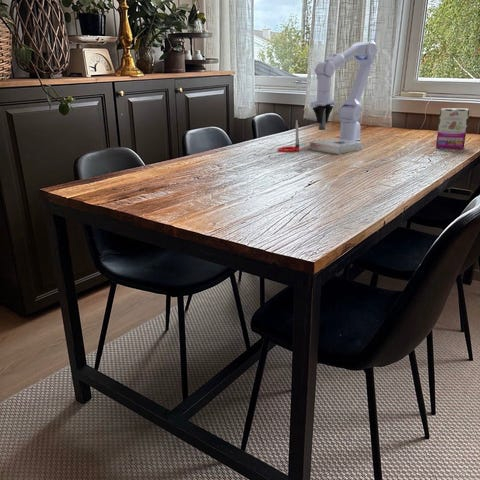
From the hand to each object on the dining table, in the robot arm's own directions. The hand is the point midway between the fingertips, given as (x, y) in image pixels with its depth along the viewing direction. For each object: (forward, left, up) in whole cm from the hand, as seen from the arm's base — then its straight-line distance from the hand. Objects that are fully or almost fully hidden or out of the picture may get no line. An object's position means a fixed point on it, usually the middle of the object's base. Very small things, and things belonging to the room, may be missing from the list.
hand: (322, 122), depth 209 cm
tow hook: (+19, -2, -10) cm, 22 cm away
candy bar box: (-33, +44, -10) cm, 56 cm away
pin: (0, 0, -3) cm, 3 cm away
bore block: (+3, +11, -10) cm, 15 cm away
